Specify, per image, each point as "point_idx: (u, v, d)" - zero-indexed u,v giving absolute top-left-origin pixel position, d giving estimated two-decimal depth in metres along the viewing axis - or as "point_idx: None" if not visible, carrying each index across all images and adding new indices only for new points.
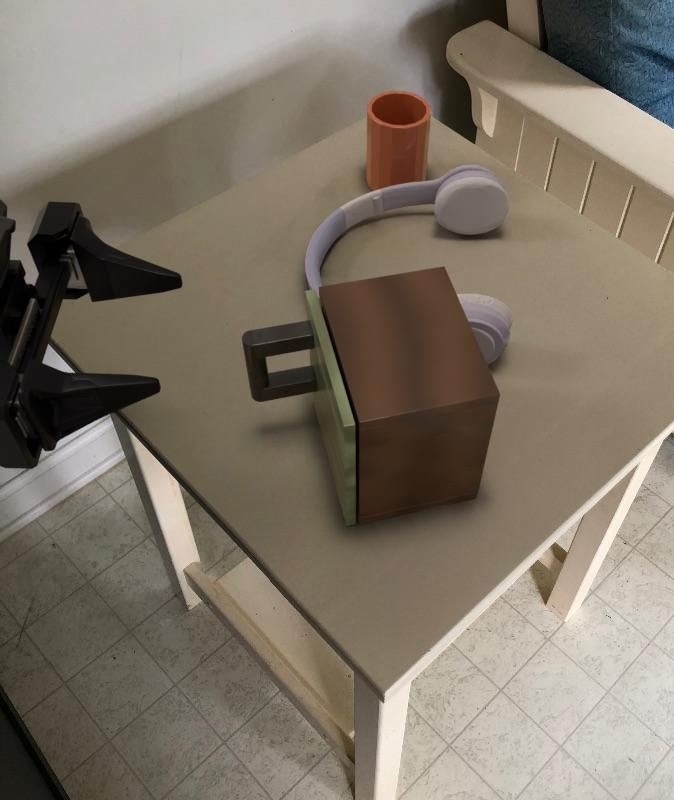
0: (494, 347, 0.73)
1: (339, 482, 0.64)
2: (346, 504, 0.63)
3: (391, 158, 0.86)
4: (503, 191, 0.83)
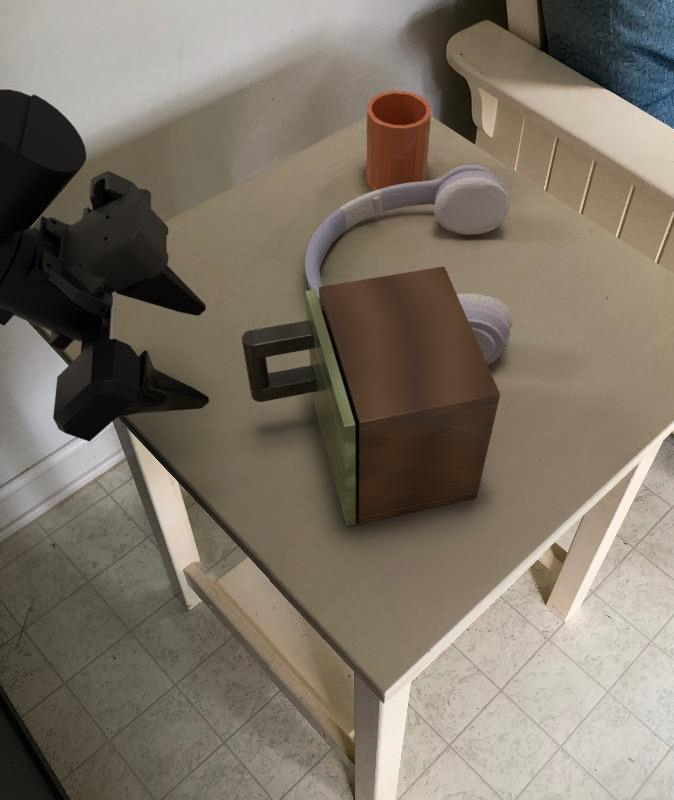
0: (494, 347, 0.73)
1: (339, 482, 0.64)
2: (346, 504, 0.63)
3: (391, 158, 0.86)
4: (503, 191, 0.83)
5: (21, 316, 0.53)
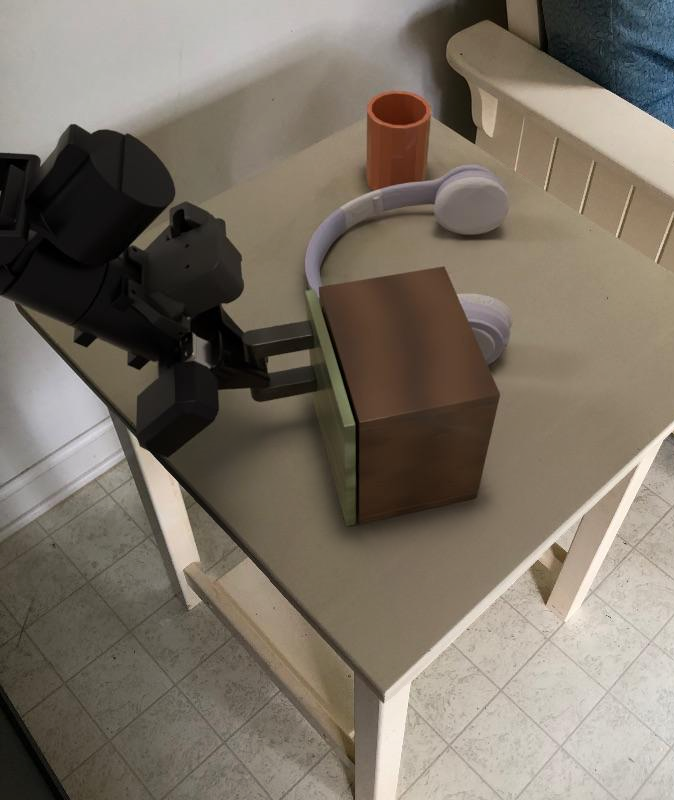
0: (494, 347, 0.73)
1: (339, 482, 0.64)
2: (346, 504, 0.63)
3: (391, 158, 0.86)
4: (503, 191, 0.83)
5: (104, 339, 0.56)
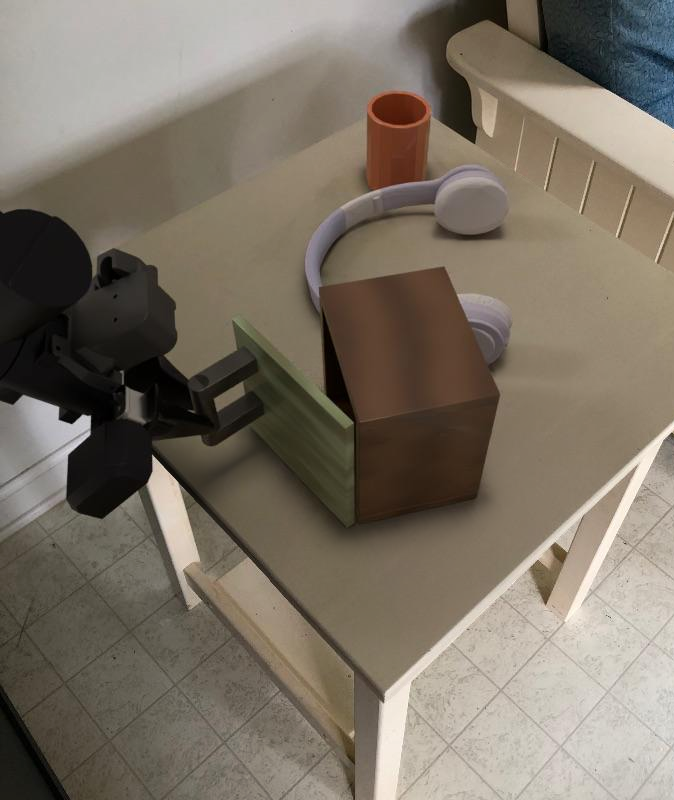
0: (494, 347, 0.73)
1: (329, 489, 0.64)
2: (347, 506, 0.63)
3: (391, 158, 0.86)
4: (503, 191, 0.83)
5: (30, 396, 0.53)
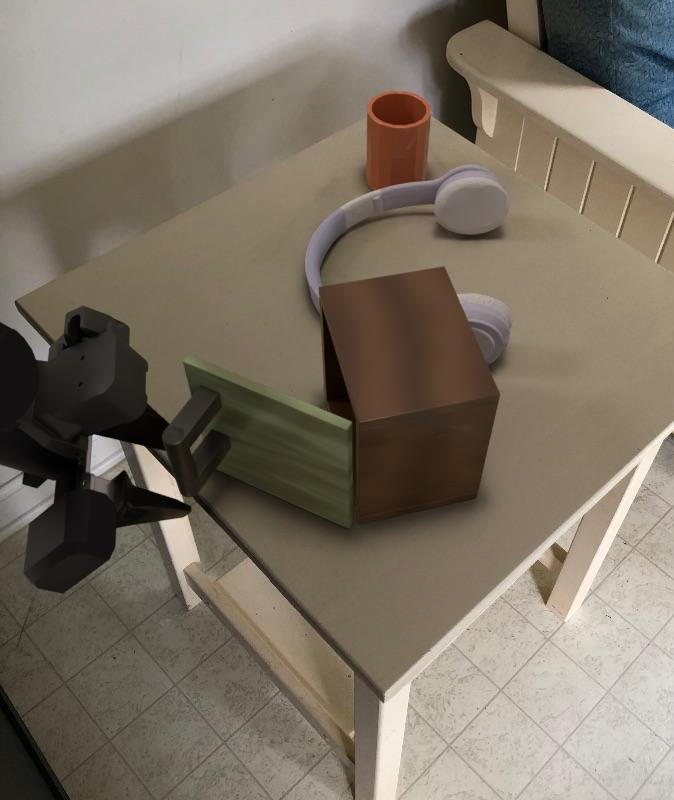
0: (494, 347, 0.73)
1: (323, 497, 0.63)
2: (348, 507, 0.63)
3: (391, 158, 0.86)
4: (503, 191, 0.83)
5: None
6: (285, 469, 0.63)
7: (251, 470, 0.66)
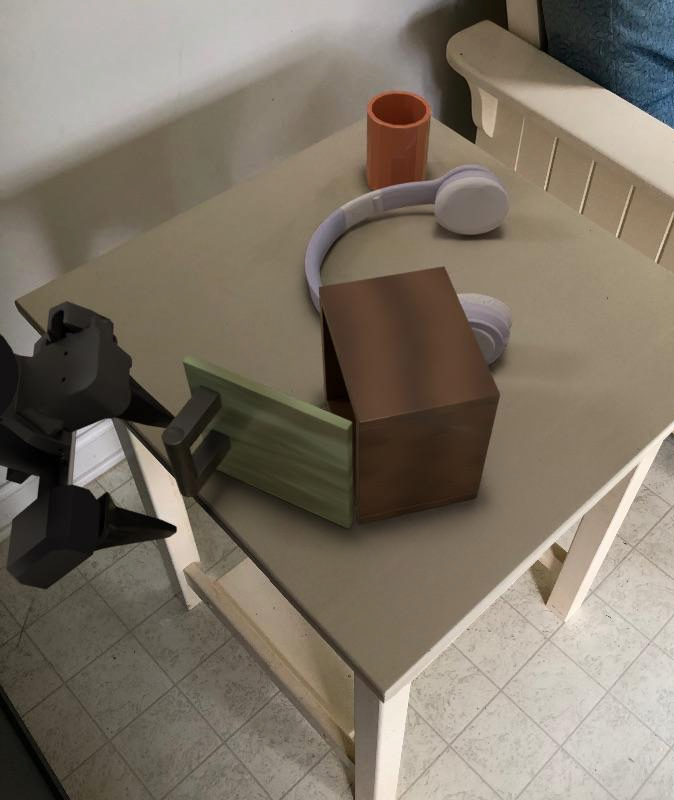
0: (494, 347, 0.73)
1: (323, 497, 0.63)
2: (348, 507, 0.63)
3: (391, 158, 0.86)
4: (503, 191, 0.83)
5: None
6: (285, 469, 0.63)
7: (251, 470, 0.66)
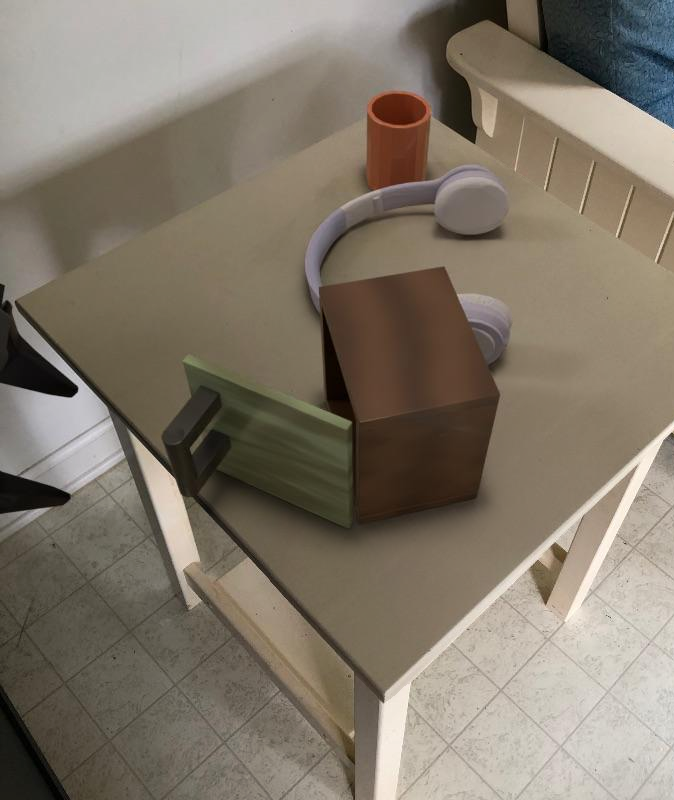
0: (494, 347, 0.73)
1: (323, 497, 0.63)
2: (348, 507, 0.63)
3: (391, 158, 0.86)
4: (503, 191, 0.83)
5: None
6: (285, 469, 0.63)
7: (251, 470, 0.66)
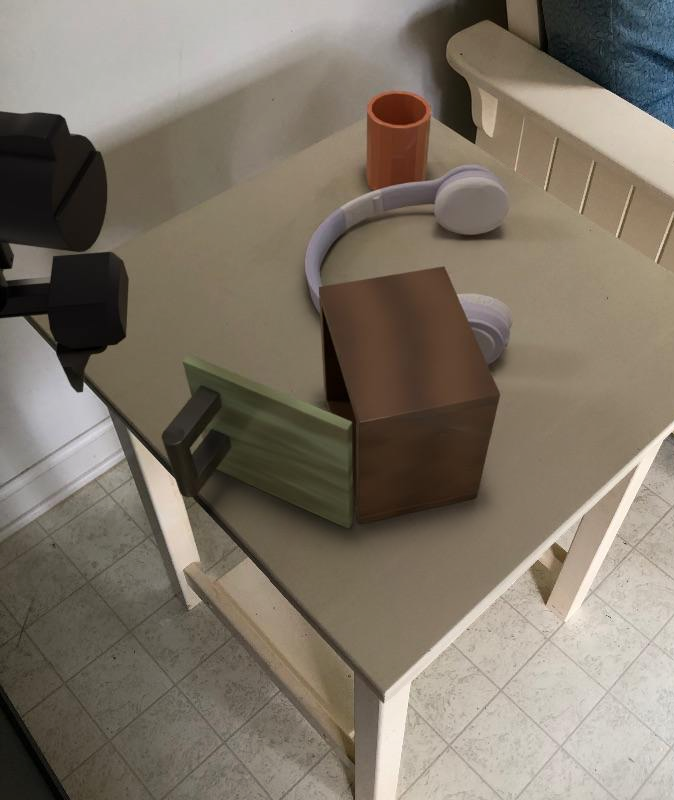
0: (494, 347, 0.73)
1: (323, 497, 0.63)
2: (348, 507, 0.63)
3: (391, 158, 0.86)
4: (503, 191, 0.83)
5: None
6: (285, 469, 0.63)
7: (251, 470, 0.66)
